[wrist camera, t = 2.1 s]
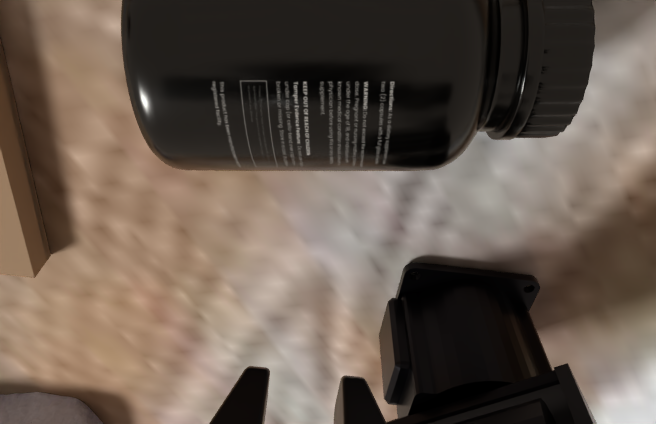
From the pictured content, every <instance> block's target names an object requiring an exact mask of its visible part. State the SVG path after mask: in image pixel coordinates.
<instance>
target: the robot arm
mask: <svg viewBox="0 0 656 424" xmlns="http://www.w3.org/2000/svg"><path fill="white" fill-rule="evenodd" d="M413 272H418V273H417V274H413V275H412V274H411V273H413ZM527 285H530V286H528V287H525V286H527ZM539 289H540V286H539V283H538V281H537V279H536V278H535V277H534V276H531V275H523V274H514V273H505V272H496V271H487V270H478V269H469V268H461V267H452V266H443V265H434V264H425V263H410V264H407V265H406V266H405V267H404V269H403V273H402V276H401V280H400V283H399V287H398V291H397V294H396V298H392V299H391V300H389V301H388V303H387V307H386V311H385V315H384V318H383V322H382V326H381V330H380V333H379V339H380V352H381V365H382V378H383V391H384V399H385V400H386V402H387V403H388V404H392V405H397V414H398V419H395V420H392V421H389V422H386V421H385V419H384V417H383V415H382V413H381V411H380V409H379V407H378V405H377V403H376V400H375V398H374V396H373V394H372V392H371V390H370V388H369V386H368V384H367V382H366V381H365V379H364V378H362V377H354V376H343V377H342V378H341V381H340V386H339V390H338V395H337V399H336V404H335V412H334V424H597V423H596V421H595V419H594V417H593V415H592V413H591V411H590V409H589V407H588V404H587V402H586V400H585V398H584V396H583V394H582V392H581V390H580V388H579V386H578V384H577V382H576V379H575V377H574V375H573V373H572V371H571V369H570V367H569V365H568V363H567V364H564V365H561V366H558V367H554V369H555V370H552V368H551V365H550V363H549V360H548V358H547V356H546V353H545V351H544V348H543V346H542V343H541V341H540V338H539V336H538V333H537V331H536V328H535V326H534V324H533V321H532V319H531V316H530V314H529V310H530V308H531V306H532V304H533V302H534V300H535V298H536V296H537V293H538V291H539ZM269 376H270V371H269V369H268V368H264V367H254V366H249V367H247V368H246V369H245V370H244V372H243V373H242V375H241V376H240V378H239V379H238V381H237V382H236V384H235V385H234V387H233V388H232V390H231V391H230V393H229V395H228V396H227V398H226V399H225V401H224V402H223V404H222V405H221V407H220V408H219V410H218V411H217V413H216V414H215V416H214V417H213V419H212V420H211V422H210V423H209V424H264V422H265V414H266V406H267V397H268V387H269Z"/></svg>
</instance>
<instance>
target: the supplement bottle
mask: <svg viewBox="0 0 656 424" xmlns="http://www.w3.org/2000/svg"><path fill="white" fill-rule="evenodd" d="M594 35H595V23H594V9H593V6H592V0H122V10H121V37H122V52H123V61H124V69H125V76H126V82H127V87H128V92H129V96H130V100H131V104H132V107H133V111H134V114H135V117H136V120H137V123H138V125H139V128H140V130H141V133H142V135H143V137H144V139H145V141H146V143H147V144H148V146H149V148H150V149H151V150H152V152H153V153H154V154H155V155H156V156H157V157H158V158H159V159H160V160H161V161H163V162H164V163H165V164H167V165H169V166H171V167H173V168H176V169H181V170H215V171H420V170H434V169H438V168H441V167H443V166H445V165H447V164H449V163H451V162H452V161H454V160H455V159H457V158H458V157H459V156H460V155H461V154H462V153H463V152H464V151H465V150H466V148H467V147H468V146H469V144H470V143H471V141H472V140H473V138H474V137H475V135H476V134H477V132H482V131H486V133H487V135H488V136H489V137H490V138H491V139H494V140H510V139H513V138H546V137H552V136H557V135H558V134H559V133H560V132H563V131H564V130H565V128H566V127H567V126H568V125H569V124H571V121H572V119H573V117H574V116H575V115H576V114H577V112H578V108H579V105H580V103H581V102H582V100H583V97H584V93H585V89H586V87H587V85H588V80H589V73H590V70H591V67H592V57H593V52H594V47H595V44H594Z"/></svg>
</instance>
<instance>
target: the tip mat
mask: <svg viewBox="0 0 656 424" xmlns="http://www.w3.org/2000/svg"><path fill="white" fill-rule="evenodd" d="M50 256H51V254H50V250H49V246H48V241H47V237H46V233H45V228H44V224H43V220H42V215H41V211H40V207H39V202H38V198H37V194H36V189H35V185H34V181H33V176H32V172H31V168H30V163H29V159H28V155H27V150H26V146H25V142H24V137H23V133H22V129H21V124H20V120H19V116H18V111H17V107H16V103H15V98H14V94H13V90H12V85H11V81H10V77H9V72H8V68H7V64H6V59H5V55H4V51H3V46H2V42H1V38H0V274H2V275H12V276H21V277H30V278H35V277H36V275H37V274H38V272H39V271H40V270H41V268H42V267H43V265H44V264H45V263H46V261H47V260H48V259H49V257H50Z"/></svg>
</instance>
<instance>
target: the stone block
mask: <svg viewBox="0 0 656 424" xmlns="http://www.w3.org/2000/svg"><path fill="white" fill-rule="evenodd" d="M0 424H103V423H102V422H101V421H100V419H99V418H98V417H97V416H96V415H95V414H94V413H93V412H92V411H91V409H90V408H89V407H88V406H87V405H86V404H84V403H83V402H82V401H80V400H79V399H76V398H73V397H67V396H59V395H53V394H48V393H41V392H32V393H13V394H9V395H2V394H0Z"/></svg>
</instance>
